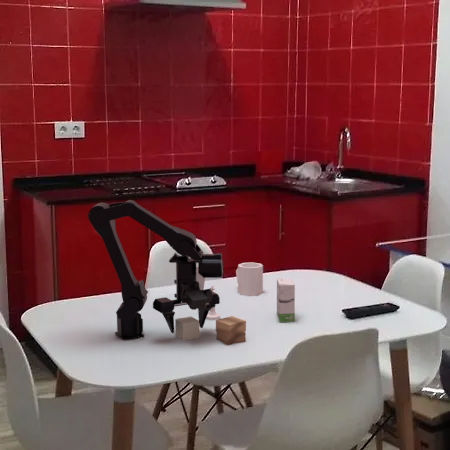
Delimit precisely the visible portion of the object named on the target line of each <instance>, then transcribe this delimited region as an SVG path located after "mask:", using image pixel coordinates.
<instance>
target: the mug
mask: <svg viewBox="0 0 450 450" xmlns="http://www.w3.org/2000/svg"><path fill="white" fill-rule="evenodd" d="M235 274H236V280H237V281H236V282H237V292H238V294H239V296H247V297H253V296H254V297H257V296H260V295H263V294H262V293H263V292H264V287H263V286H264V285H263V283H264V280H263V279H264V265H263V264H262V263H257V262H253V261H252V262H242V263H239V264H237V269H236V270H235Z"/></svg>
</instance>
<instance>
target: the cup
mask: <svg viewBox="0 0 450 450" xmlns="http://www.w3.org/2000/svg"><path fill="white" fill-rule="evenodd" d="M196 279H197V281H198V282H199V288H200V290H205V289H204V288H205V281H206V278H203V277H202V276H200V274H199V273H198V266H196Z"/></svg>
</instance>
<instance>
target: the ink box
mask: <svg viewBox="0 0 450 450" xmlns="http://www.w3.org/2000/svg"><path fill="white" fill-rule="evenodd" d="M295 285H296V284H295V282H294V280H293V279H292V278H287V277H286V278H284V277H281V278H280V277H279V278H278V277H277V278H276V316H277V319H278V322H279V323H295V321H296V317H295V316H296V315H295V314H296V313H295V312H296V311H295V310H296V308H295V307H296V306H295V297H296V296H295V295H296V294H295V293H296V291H295V290H296V288H295Z"/></svg>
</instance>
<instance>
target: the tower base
mask: <svg viewBox="0 0 450 450" xmlns="http://www.w3.org/2000/svg"><path fill="white" fill-rule="evenodd" d="M246 332H247V331H245V332H241V333H237V334H234V335H230V336H229V335H227V334H224V333H221V332H219V331H216V330H215V334H216V336H215V340H217V341H219V342H221V343H222V344H224V345H226V346H229V345H230V346H231V345H236V344H239V343H245V342H246Z"/></svg>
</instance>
